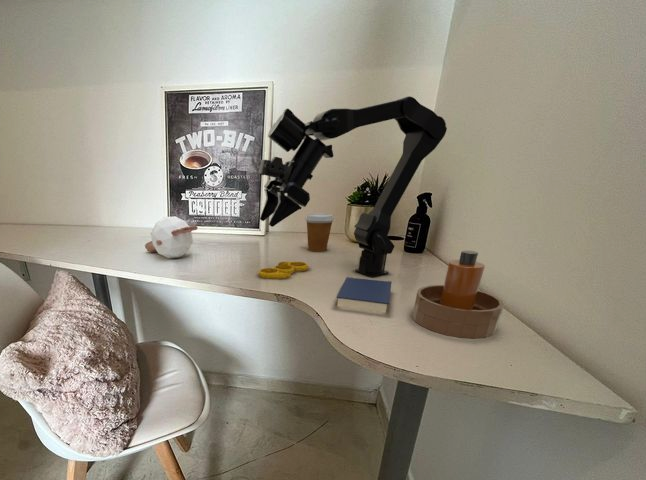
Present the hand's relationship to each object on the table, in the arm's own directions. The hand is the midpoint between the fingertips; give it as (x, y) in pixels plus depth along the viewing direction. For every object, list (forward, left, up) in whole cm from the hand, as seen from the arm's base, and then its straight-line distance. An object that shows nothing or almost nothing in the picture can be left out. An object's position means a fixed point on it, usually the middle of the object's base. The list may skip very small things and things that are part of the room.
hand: (265, 222), depth 82 cm
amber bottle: (-18, +39, -14) cm, 45 cm away
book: (-12, +23, -15) cm, 30 cm away
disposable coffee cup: (-33, -22, -15) cm, 43 cm away
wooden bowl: (-18, +39, -15) cm, 46 cm away
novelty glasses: (-8, -4, -15) cm, 18 cm away
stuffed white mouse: (+16, -38, -15) cm, 44 cm away
